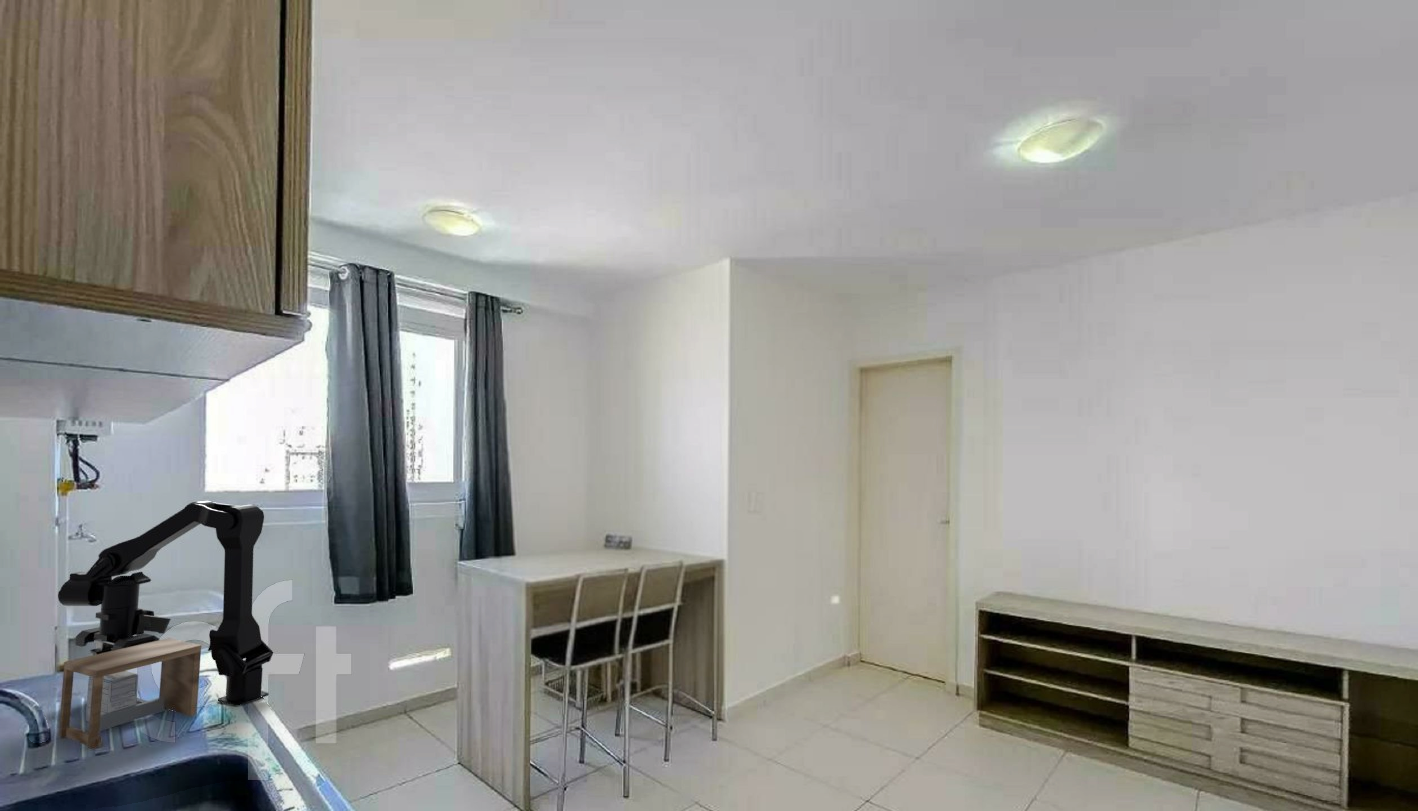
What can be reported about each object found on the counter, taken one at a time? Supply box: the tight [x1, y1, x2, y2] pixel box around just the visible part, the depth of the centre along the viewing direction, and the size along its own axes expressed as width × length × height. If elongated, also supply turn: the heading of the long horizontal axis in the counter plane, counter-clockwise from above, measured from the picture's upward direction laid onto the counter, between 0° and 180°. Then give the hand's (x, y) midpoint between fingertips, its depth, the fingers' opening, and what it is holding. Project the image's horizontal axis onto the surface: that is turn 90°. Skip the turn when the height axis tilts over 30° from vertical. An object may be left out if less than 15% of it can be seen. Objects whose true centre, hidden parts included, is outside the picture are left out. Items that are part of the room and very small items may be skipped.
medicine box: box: [85, 670, 139, 723], centre depth 120 cm, size 8×4×9 cm, turn 66°
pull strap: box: [99, 697, 165, 732], centre depth 124 cm, size 23×11×6 cm, turn 67°
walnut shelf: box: [58, 637, 202, 751], centre depth 118 cm, size 11×16×13 cm
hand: (114, 682), depth 131 cm, fingers closed
